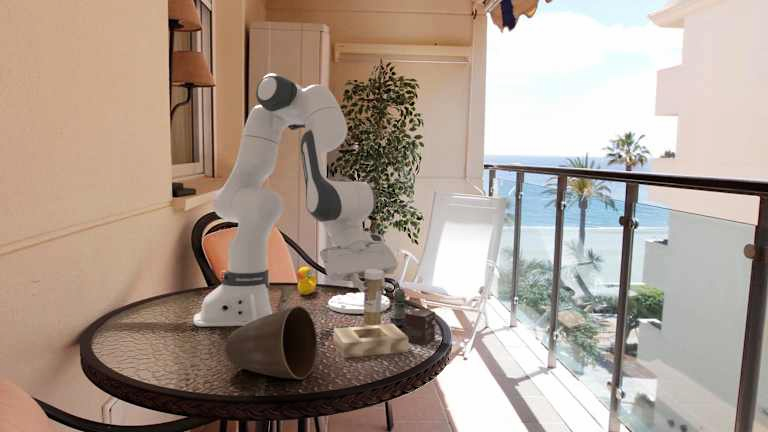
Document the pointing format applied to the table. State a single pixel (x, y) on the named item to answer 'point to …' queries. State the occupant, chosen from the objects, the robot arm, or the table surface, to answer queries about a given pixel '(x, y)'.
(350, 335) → the holder
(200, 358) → the table surface
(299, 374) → the plant pot
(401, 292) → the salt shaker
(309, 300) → the table surface
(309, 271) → the duckling
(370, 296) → the sprinkles bottle
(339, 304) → the embossed medallion
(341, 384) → the table surface
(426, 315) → the box
